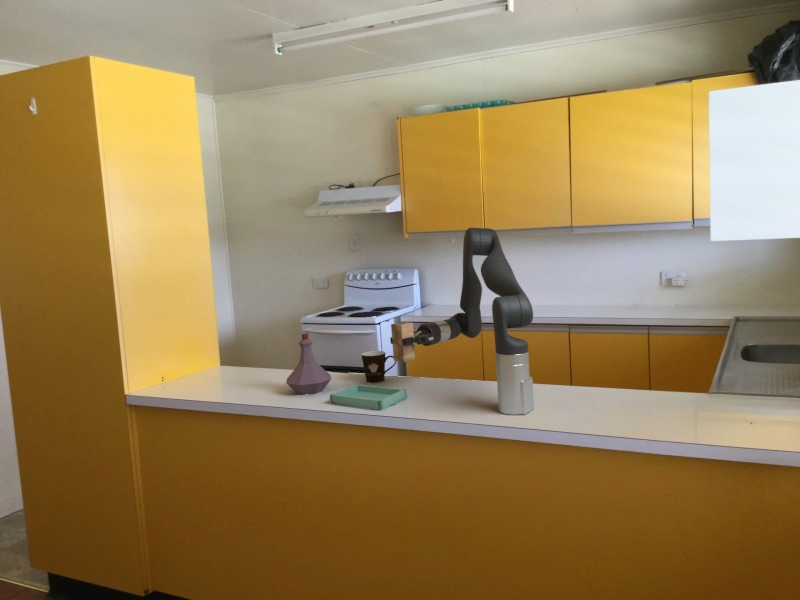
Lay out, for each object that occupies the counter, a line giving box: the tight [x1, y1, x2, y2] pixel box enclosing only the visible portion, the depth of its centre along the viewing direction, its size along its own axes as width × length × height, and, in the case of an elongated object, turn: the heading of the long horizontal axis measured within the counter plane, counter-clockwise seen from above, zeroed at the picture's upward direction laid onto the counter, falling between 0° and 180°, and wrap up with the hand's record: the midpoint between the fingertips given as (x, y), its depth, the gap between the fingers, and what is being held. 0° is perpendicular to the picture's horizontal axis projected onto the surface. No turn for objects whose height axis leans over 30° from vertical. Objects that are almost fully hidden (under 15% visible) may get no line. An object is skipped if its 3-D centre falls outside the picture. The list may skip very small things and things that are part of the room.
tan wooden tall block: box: [390, 321, 416, 363], centre depth 219 cm, size 5×5×12 cm
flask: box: [286, 333, 332, 396], centre depth 232 cm, size 16×16×20 cm
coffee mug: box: [360, 350, 397, 384], centre depth 241 cm, size 12×9×10 cm
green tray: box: [329, 383, 408, 411], centre depth 215 cm, size 20×14×3 cm
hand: (397, 341), depth 217 cm, fingers closed on tan wooden tall block, 5 cm apart
